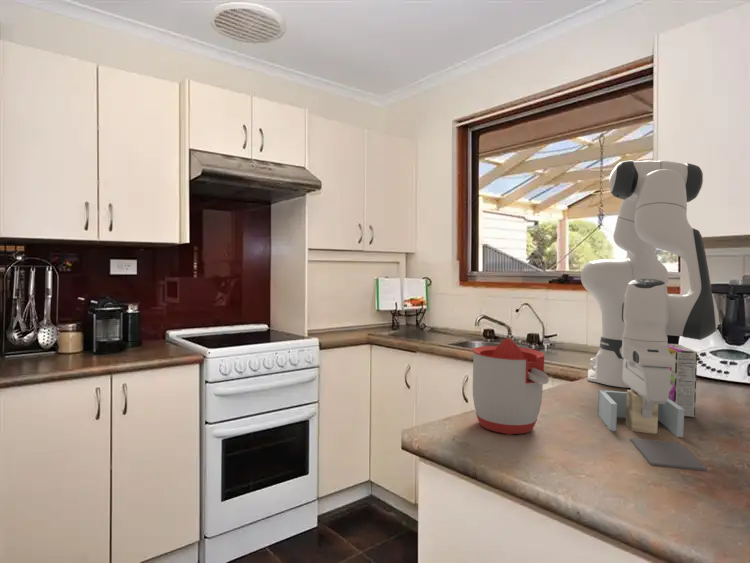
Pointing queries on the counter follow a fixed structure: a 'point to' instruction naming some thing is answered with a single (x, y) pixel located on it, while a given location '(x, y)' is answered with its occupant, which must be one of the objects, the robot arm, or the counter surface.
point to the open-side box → (615, 406)
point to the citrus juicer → (508, 387)
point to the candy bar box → (683, 378)
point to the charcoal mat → (667, 454)
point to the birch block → (639, 414)
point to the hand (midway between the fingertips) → (641, 412)
